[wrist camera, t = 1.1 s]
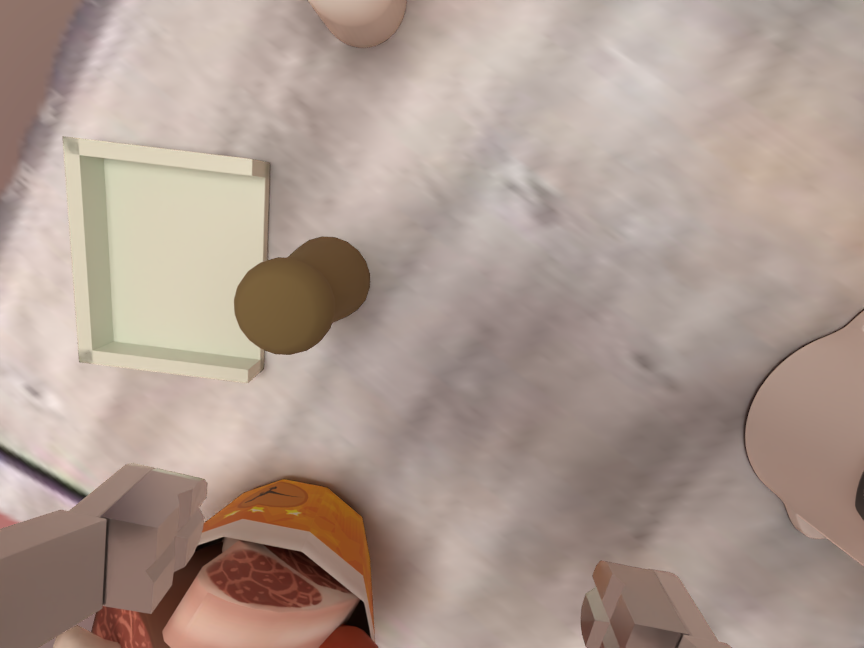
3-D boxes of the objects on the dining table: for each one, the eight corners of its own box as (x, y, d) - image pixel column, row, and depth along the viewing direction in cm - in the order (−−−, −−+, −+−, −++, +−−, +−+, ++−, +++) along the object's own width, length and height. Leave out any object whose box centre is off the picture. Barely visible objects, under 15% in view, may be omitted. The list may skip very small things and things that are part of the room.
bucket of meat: (157, 548, 41) (-101, 854, 22) (248, 401, 37) (32, 615, 18) (355, 659, 43) (278, 1026, 24) (460, 530, 40) (467, 844, 20)
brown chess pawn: (292, 228, 34) (219, 241, 23) (376, 245, 34) (342, 267, 23) (282, 310, 35) (209, 357, 25) (363, 326, 36) (324, 381, 25)
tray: (270, 162, 33) (252, 159, 30) (263, 368, 37) (247, 383, 34) (96, 141, 33) (62, 136, 30) (108, 349, 37) (79, 362, 34)
